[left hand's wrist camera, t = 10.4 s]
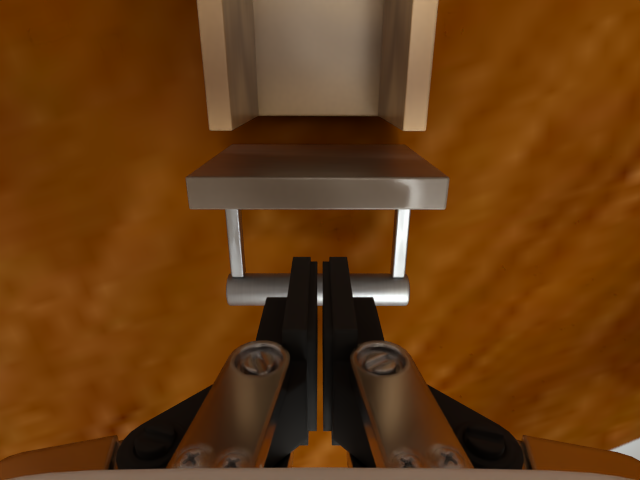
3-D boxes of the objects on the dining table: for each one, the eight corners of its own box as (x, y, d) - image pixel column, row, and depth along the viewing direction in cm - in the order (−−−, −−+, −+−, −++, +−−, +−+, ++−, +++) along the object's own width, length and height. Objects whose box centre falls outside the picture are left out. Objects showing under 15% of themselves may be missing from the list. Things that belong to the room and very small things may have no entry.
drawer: (395, 265, 24) (429, 346, 16) (240, 264, 24) (205, 345, 16) (444, -345, 15) (567, -767, 7) (192, -345, 15) (66, -769, 7)
